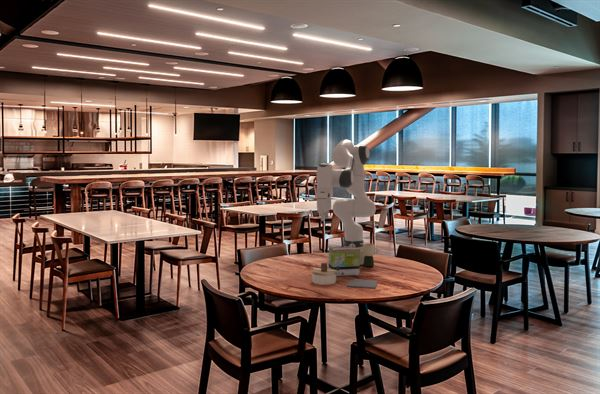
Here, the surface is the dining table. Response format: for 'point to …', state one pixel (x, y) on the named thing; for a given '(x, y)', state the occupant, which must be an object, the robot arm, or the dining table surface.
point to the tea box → (344, 260)
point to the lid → (324, 270)
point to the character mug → (368, 254)
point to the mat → (362, 283)
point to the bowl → (324, 279)
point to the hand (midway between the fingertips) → (324, 219)
